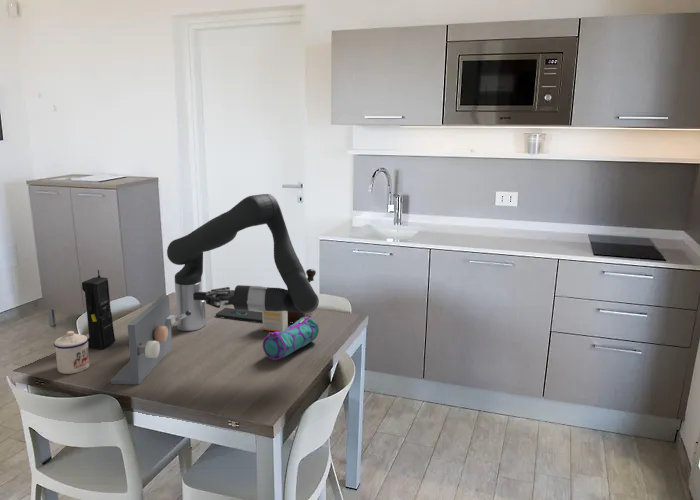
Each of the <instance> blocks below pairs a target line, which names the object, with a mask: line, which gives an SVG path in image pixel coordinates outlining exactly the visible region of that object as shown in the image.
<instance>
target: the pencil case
mask: <svg viewBox="0 0 700 500" xmlns="http://www.w3.org/2000/svg"><path fill="white" fill-rule="evenodd" d="M319 331H320V328H319V324H318V323H317V322H316V321H315V320H314V319H313V318H311V317H310V318H309V317H303V318H301V319H299V320H298V321H296V322H295V323H292V324H290V325H288V327H287V328H286V329H284V330H283V331H281V332H276V331H273V332H272V331H271V332H270V331H268V334H267V335H266V336H265V337H264V339H263V342H262V349H263V351H264V354H265V355H266V357H267V358H269V359H270V360H272V361H278V360H281V359H283V358H285V357H287V356H290V355H291V354H292V353H294V352H295V351H297V350H299V349H301V348H303V347H305V346H307V345H308V344H310V343H312V342H313V341H314V340H316V338H317V337H318V334H319Z"/></svg>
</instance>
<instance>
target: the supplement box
mask: <svg viewBox="0 0 700 500" xmlns="http://www.w3.org/2000/svg"><path fill="white" fill-rule="evenodd" d="M261 312H262V319H263V323H262V331H268V332H270V331H271V332H281V331H283V330H284V329H286V328H287V327H289V323H288V313H287V311H261Z"/></svg>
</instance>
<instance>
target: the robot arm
mask: <svg viewBox="0 0 700 500" xmlns="http://www.w3.org/2000/svg"><path fill="white" fill-rule="evenodd" d="M262 225H267V228H268V229H269V231H270V232H271V235H272V236H271V237H272V241H273V259H274V264H275V266H276V267H275V268H276V269H277V271H278V273H279V276H280V277H281V279H282V281H283V282H284V284H285V286H286V289H285V288H281V287H270V286H269V287H268V286H267V287H266V286H262V285H261V286H260V285H242V284H241V285H236V286H235V288H234V289H231V287H230V286H227V287H225V286H224V287H220V288H213V289H211V290H208V291H203V289H202V287H203V286H202V284H203V283H202V276H203V274H204V253H205V252H210V251H212V250H216V249H218V248H221V247H222V246H225V245H226V244H229V243H230V242H232V241H233V240H234V239H235V238H236V236H237V235H238V232H240V231H242V230H245V229H248V228H250V227H257V226H262ZM166 256H167V258H168V260H169V261H170V263H172V264H174V265H178V266H182V265H183V267H182V268H181V269H180V270H179V271H178V272H176V273H175V275H174V289H175V290H174V293H175V294H174V295H175V307H176V308H175V309H176V317H178V316H180V315H182V314H184V313H185V312H186V311H188V310H189V311H191V315H190V316H186V317H184V318H182V319H180V320H179V321H176V326H177V329H178V330H179V331H184V332H188V331H189V332H190V331H197V330H200V329H201V328H203V327H204V326H206V325H207V324H206V323H207V322H206V320H207V319H206V305H209V306H211V307H213V308H215V309H220V308H221V305H222V306H226V307H228V306H231V305H232V306H233V309H235V310H239V311H256V312H262V311H290V312H299V313H310V312H311V313H313V312H314V311H316V310H317V308H318V306H319V303H320V301H319V295H317V293H316V292H315V290H314V288H313V287H312V285H311V282H309V281H308V279H307V278H308V276H307V274H306V271H305V269H304V267H303V265H302V263H301V261H300V259H299V257H298V255H297V253H296V251H295V248H294V246H293V244H292V240H291V238H290V235H289V231H288V228H287V225H286V221H285V218H284V216H283V212H282V209H281V206H280V205H279V202H278V200H277V198H275V196H274V195H272V194H269V193H263V194H262V193H261V194H255V195H254V194H253V195H248V196H246V197H244V198H243V199H242V200H240V201H239V202H238V203H237V204H236V205H234V206H233V207H231V208H230V209H229V210H227V211H226V212H223V213H222V214H219V215H218V216H215V217H213V218H211V219H210V220H208V221H207V222H205V223H204V224H202V225H200V226H198V227H197V228H196V229H194V230H193V231H192V232H190V233H189V234H186V235H184V236H182V237H178V238H176V239H174V240H172V241H170V242H169V244H168V246H167V249H166Z"/></svg>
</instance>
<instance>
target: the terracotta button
mask: <svg viewBox="0 0 700 500" xmlns="http://www.w3.org/2000/svg"><path fill="white" fill-rule="evenodd" d="M167 337H168V328H167V326H157V327H156V329H155V330H154V331H153V338H155V341H158V342H166V340H167Z"/></svg>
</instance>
